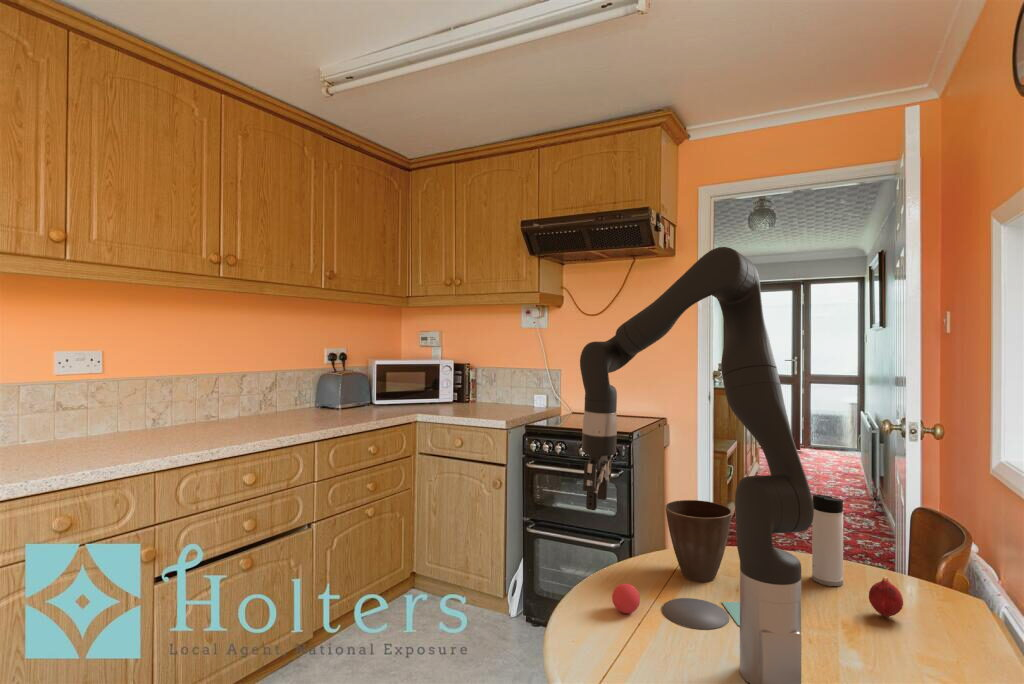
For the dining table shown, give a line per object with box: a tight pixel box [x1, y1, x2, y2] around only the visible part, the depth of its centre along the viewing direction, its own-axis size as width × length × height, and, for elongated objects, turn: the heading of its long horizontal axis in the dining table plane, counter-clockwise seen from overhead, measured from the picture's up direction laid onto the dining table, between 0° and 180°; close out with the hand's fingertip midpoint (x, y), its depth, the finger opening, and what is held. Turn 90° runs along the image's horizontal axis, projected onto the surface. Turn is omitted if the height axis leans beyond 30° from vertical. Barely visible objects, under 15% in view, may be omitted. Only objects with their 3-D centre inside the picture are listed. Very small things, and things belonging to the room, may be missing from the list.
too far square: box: [721, 601, 740, 627], centre depth 116 cm, size 10×10×1 cm
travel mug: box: [811, 493, 844, 587], centre depth 132 cm, size 6×7×20 cm
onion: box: [868, 576, 904, 618], centre depth 115 cm, size 6×6×8 cm
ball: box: [611, 583, 641, 614], centre depth 117 cm, size 6×6×6 cm
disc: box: [661, 597, 730, 630], centre depth 116 cm, size 13×13×1 cm
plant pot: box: [664, 499, 733, 583], centre depth 135 cm, size 15×15×16 cm
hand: (596, 504), depth 126 cm, fingers open, 8 cm apart
